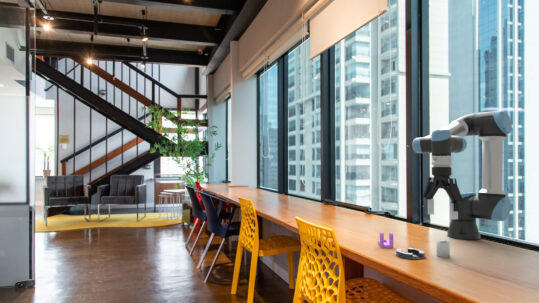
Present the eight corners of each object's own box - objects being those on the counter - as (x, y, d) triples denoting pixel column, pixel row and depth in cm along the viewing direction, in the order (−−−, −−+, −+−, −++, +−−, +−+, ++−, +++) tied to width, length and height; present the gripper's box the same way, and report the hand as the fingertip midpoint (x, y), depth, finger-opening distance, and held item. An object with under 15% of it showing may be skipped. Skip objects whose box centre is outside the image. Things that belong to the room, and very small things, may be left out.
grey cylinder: (443, 254, 150) (443, 239, 151) (452, 257, 146) (452, 242, 146) (433, 255, 149) (433, 240, 149) (442, 258, 144) (442, 242, 144)
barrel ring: (413, 251, 155) (413, 247, 155) (430, 258, 144) (430, 253, 144) (390, 253, 152) (390, 248, 152) (406, 260, 141) (406, 255, 141)
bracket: (393, 248, 161) (393, 233, 161) (380, 248, 162) (380, 232, 162) (389, 242, 173) (389, 228, 173) (377, 241, 174) (377, 227, 175)
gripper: (414, 165, 159) (415, 212, 159) (456, 166, 135) (457, 222, 135) (428, 165, 161) (429, 212, 161) (472, 166, 137) (473, 221, 137)
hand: (442, 216), depth 148 cm, fingers open, 13 cm apart
